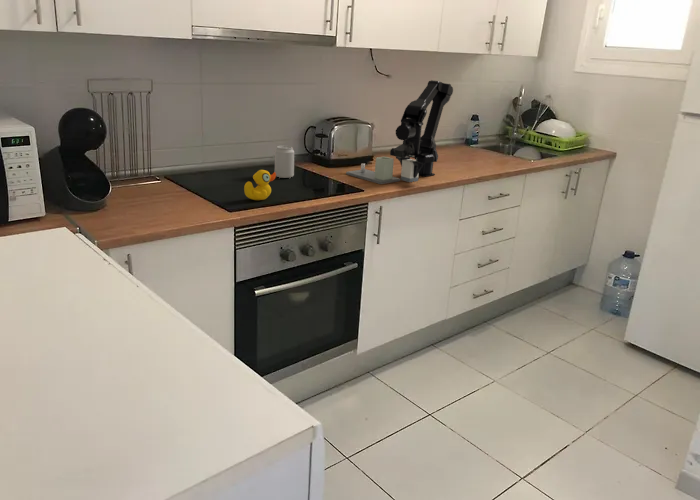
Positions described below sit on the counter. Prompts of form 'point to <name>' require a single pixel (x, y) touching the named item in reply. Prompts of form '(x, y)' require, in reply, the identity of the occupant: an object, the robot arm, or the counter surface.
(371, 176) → the pin board
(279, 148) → the can
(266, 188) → the duckling
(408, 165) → the sleeve
